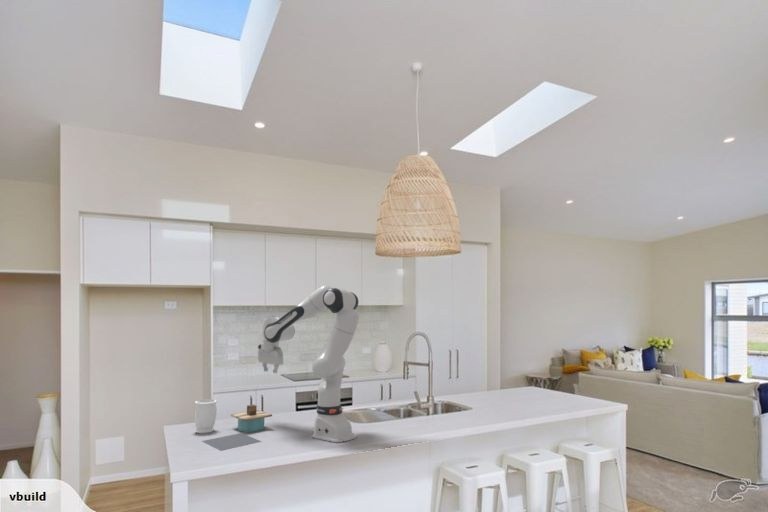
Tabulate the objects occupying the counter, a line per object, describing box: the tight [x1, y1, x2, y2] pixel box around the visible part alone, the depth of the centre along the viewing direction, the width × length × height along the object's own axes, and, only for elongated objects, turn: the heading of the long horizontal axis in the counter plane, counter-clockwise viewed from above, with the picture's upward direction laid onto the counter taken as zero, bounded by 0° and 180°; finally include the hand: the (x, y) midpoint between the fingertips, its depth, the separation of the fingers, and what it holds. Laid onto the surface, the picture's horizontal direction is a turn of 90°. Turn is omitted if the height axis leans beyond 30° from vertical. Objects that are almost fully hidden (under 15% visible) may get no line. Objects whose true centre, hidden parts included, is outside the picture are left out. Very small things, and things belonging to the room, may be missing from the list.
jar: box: [194, 398, 218, 434], centre depth 243 cm, size 11×10×15 cm
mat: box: [201, 432, 263, 452], centre depth 224 cm, size 20×20×1 cm
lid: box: [230, 404, 273, 421], centre depth 248 cm, size 15×15×5 cm
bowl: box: [237, 418, 265, 433], centre depth 247 cm, size 13×13×6 cm
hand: (270, 372), depth 260 cm, fingers open, 8 cm apart
